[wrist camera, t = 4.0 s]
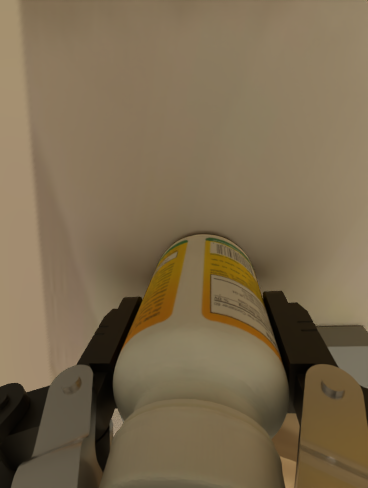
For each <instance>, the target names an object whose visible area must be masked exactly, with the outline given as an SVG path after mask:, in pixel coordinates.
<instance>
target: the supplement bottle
mask: <svg viewBox="0 0 368 488" xmlns="http://www.w3.org/2000/svg"><path fill="white" fill-rule="evenodd" d="M113 394H114V399H115V403H116V406H117V408H118V411H119V413H120V415H121V417H122V418H123V420H124V423H123V425H122V426H121V428H120V429H119V430H118V431H117V432H116V434H115V436H114V437H113V440H112V443H111V448H110V453H109V456H108V459H107V462H106V466H105V469H104V472H103V476H102V479H101V482H100V485H99V488H285V483H284V477H283V471H282V462H281V459H280V456H279V454H278V452H277V450H276V449H275V446H274V443H273V441H272V440H271V439H272V438H273V437H274V436H275V435H276V434H277V432H278V431H279V430H280V428H281V426H282V424H283V422H284V420H285V418H286V415H287V411H288V406H289V385H288V380H287V376H286V372H285V368H284V365H283V362H282V359H281V355H280V352H279V349H278V346H277V343H276V340H275V336H274V333H273V330H272V327H271V324H270V320H269V317H268V314H267V311H266V308H265V305H264V301H263V298H262V295H261V292H260V289H259V286H258V282H257V279H256V276H255V273H254V270H253V267H252V264H251V262H250V260H249V258H248V257H247V255H246V254H245V253H244V251H243V250H242V249H241V248H240V247H238V246H237V245H236V244H234V243H233V242H231V241H230V240H228V239H225V238H223V237H220V236H216V235H209V234H198V235H192V236H189V237H186V238H183V239H180V240H179V241H177V242H176V243H174V244H173V245H172V246H171V247H170V248H168V249H167V251H166V252H165V253H164V254H163V255H162V257H161V259H160V261H159V263H158V265H157V267H156V270H155V272H154V274H153V277H152V279H151V281H150V284H149V286H148V289H147V291H146V294H145V296H144V298H143V301H142V303H141V305H140V307H139V310H138V312H137V315H136V317H135V319H134V322H133V324H132V326H131V328H130V331H129V333H128V336H127V338H126V340H125V343H124V345H123V347H122V350H121V352H120V355H119V357H118V360H117V362H116V366H115V370H114V375H113Z"/></svg>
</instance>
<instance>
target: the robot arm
mask: <svg viewBox="0 0 368 488" xmlns="http://www.w3.org/2000/svg"><path fill="white" fill-rule="evenodd" d="M142 301H143V300H142V298H141V297H125V298H123V300H122V302H121V304H120V306H119V307H118V309H113V310H111V311H110V312H109V313H108V314H107V315H106V316H105V317H104V318H103V320H102V322H101V323H100V325H99V328H98V329H97V330H96V332H95V335H94V336H93V337H92V339H91V341H90V342H89V344H88V346H87V348H86V349H85V351H84V353H83V354H82V356H81V358H80V360H79V361H78V363H77V365H75V366H72V367H70V368H68V369H66V370H64V371H63V372H61V373H60V374H59V375H58V376H57V377H56V378H55V379H54V380H53V382H52V383H51V385H50V386H47V387H43V388H40V389H36V390H33V391H30V392H26V391H25V390H24V388H23V386H22V385H21V384H18V383H11V384H6V385H4V386H1V387H0V488H99V485H100V482H101V479H102V476H103V472H104V469H105V466H106V462H107V459H108V456H109V453H110V448H111V443H112V440H113V422H112V419H111V418H112V415H113V412H114V410H115V408H117V406H116V403H115V399H114V394H113V375H114V370H115V366H116V362H117V360H118V357H119V355H120V352H121V350H122V347H123V345H124V343H125V340H126V338H127V336H128V333H129V331H130V328H131V326H132V324H133V322H134V319H135V317H136V315H137V312H138V310H139V307H140V305H141V303H142ZM263 301H264V305H265V308H266V311H267V314H268V317H269V320H270V324H271V327H272V330H273V333H274V336H275V340H276V343H277V346H278V349H279V352H280V355H281V359H282V362H283V365H284V368H285V372H286V376H287V380H288V385H289V406H288V411H287V413H294V414H296V416H297V419H298V422H299V425H300V428H299V437H298V449H297V460H296V471H295V483H294V488H368V388H365V387H363V386H361V385H359V384H358V382H357V381H356V380H355V379H354V378H353V377H352V376H351V375H350V374H348V373H347V372H345V371H344V370H342V369H340V368H339V367H338V365H337V364H336V362H335V360H334V358H333V356H332V355H331V353H330V351H329V349H328V347H327V346H326V344H325V342H324V340H323V338H322V337H321V335H320V333H319V332H318V330H317V328H316V326H315V324H314V323H313V320H312V319H311V317H310V315H309V313H308V311H307V310H305V309H304V308H303V307H302V306H301V305H299V304H298V303H288V302H287V299H286V297H285V295H284V293H283V292H282V291H268V292H264V293H263Z"/></svg>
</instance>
